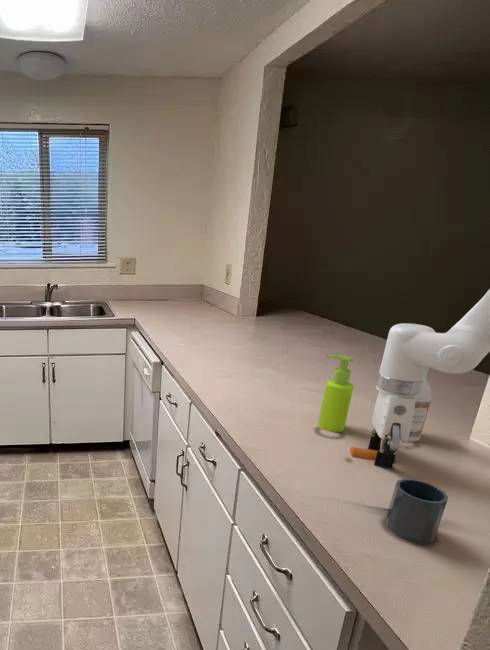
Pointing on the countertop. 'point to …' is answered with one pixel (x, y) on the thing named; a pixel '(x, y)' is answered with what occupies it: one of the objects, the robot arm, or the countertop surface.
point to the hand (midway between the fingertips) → (379, 459)
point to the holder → (416, 510)
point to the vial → (363, 453)
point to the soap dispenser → (336, 397)
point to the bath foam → (420, 410)
